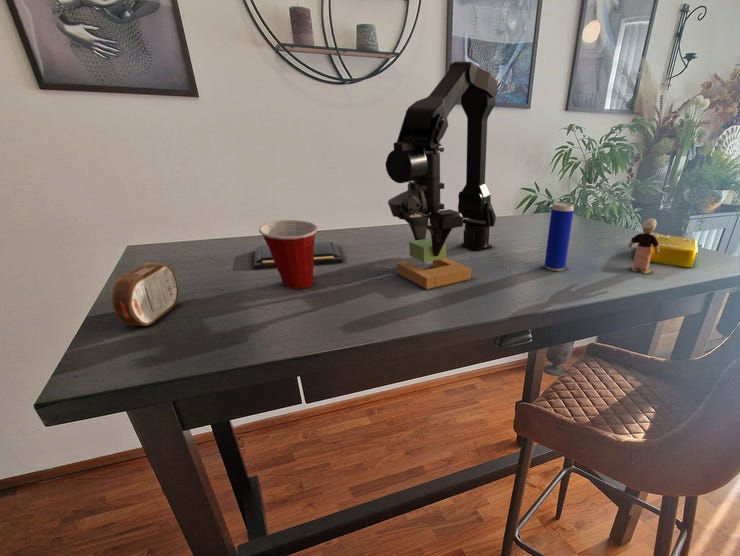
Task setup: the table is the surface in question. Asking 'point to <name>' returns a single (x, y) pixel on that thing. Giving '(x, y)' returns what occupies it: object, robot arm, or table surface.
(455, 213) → the robot arm
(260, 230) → the plastic cup
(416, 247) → the green pad
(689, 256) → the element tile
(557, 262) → the beverage can
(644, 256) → the grandmother figurine
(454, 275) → the wooden block
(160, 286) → the tin
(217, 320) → the table surface
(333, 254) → the wallet
